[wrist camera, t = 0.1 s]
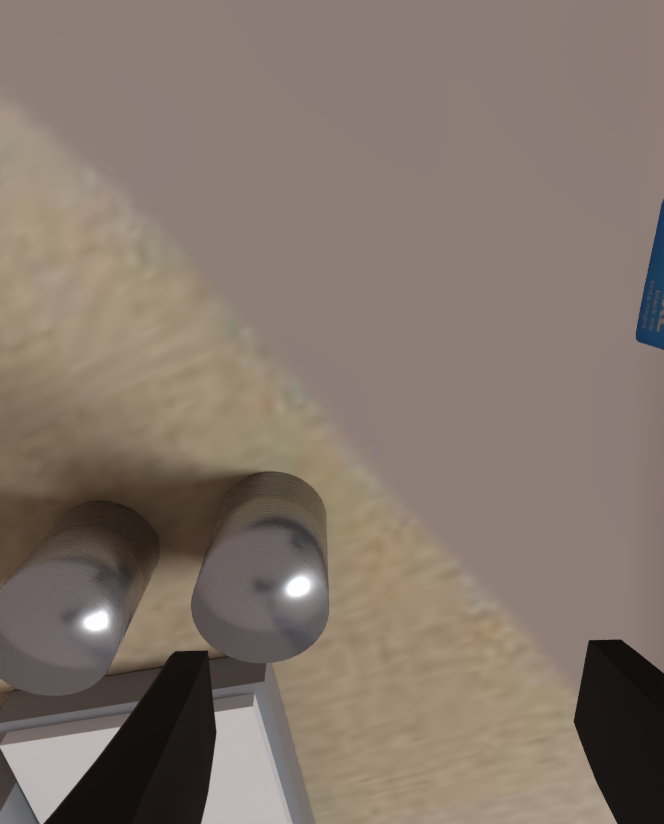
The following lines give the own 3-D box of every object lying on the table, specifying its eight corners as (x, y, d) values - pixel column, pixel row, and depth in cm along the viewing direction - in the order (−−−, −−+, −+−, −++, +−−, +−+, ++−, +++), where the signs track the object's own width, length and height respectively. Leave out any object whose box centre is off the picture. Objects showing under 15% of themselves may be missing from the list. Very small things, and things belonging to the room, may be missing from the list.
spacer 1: (171, 582, 21) (130, 684, 17) (73, 598, 21) (4, 704, 17) (142, 492, 20) (88, 577, 15) (37, 510, 20) (-49, 599, 15)
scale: (319, 842, 26) (320, 922, 23) (56, 880, 27) (23, 963, 24) (267, 650, 22) (260, 717, 19) (-41, 699, 23) (-95, 772, 20)
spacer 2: (334, 555, 21) (339, 652, 16) (233, 571, 21) (210, 672, 17) (315, 463, 20) (315, 539, 15) (208, 481, 20) (174, 563, 15)
